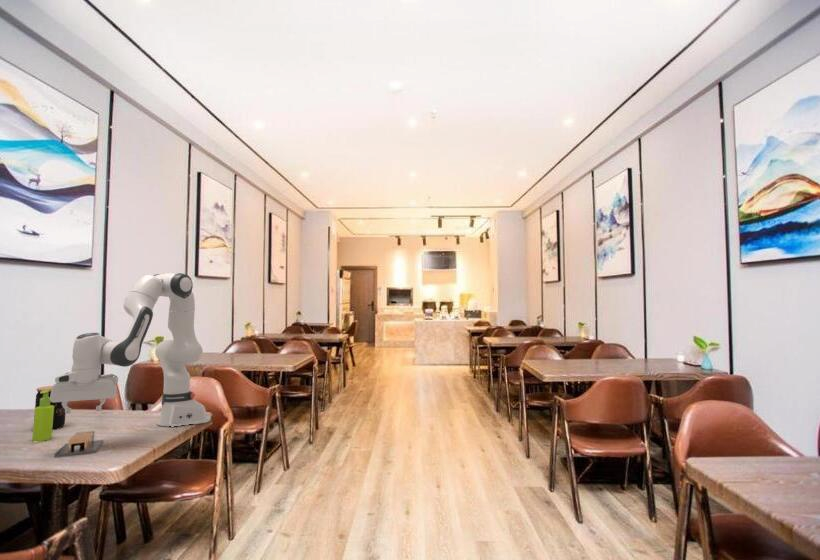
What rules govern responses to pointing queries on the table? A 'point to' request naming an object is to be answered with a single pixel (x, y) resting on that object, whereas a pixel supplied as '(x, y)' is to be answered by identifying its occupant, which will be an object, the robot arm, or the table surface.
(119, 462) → the table surface
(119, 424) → the table surface
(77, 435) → the lock block
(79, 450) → the dock plate
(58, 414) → the coffee jar
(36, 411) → the soap dispenser
